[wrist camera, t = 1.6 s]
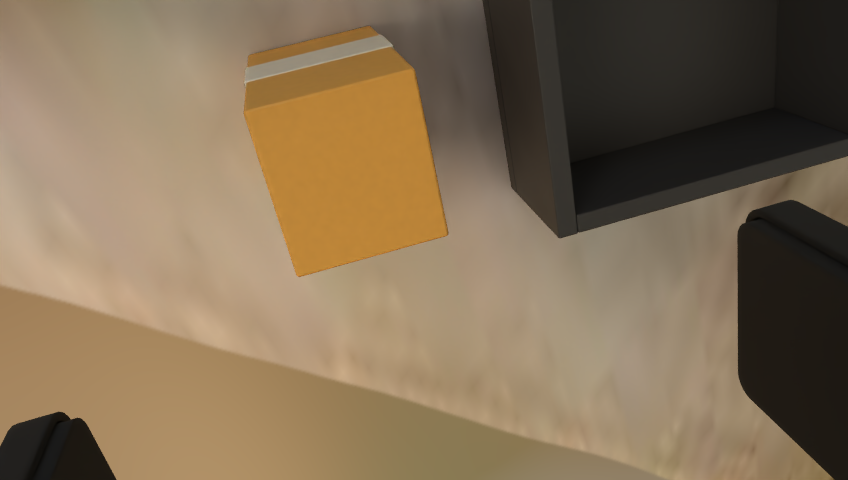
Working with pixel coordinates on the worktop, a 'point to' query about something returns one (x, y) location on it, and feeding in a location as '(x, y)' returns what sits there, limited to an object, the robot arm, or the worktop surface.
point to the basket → (663, 99)
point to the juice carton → (343, 148)
